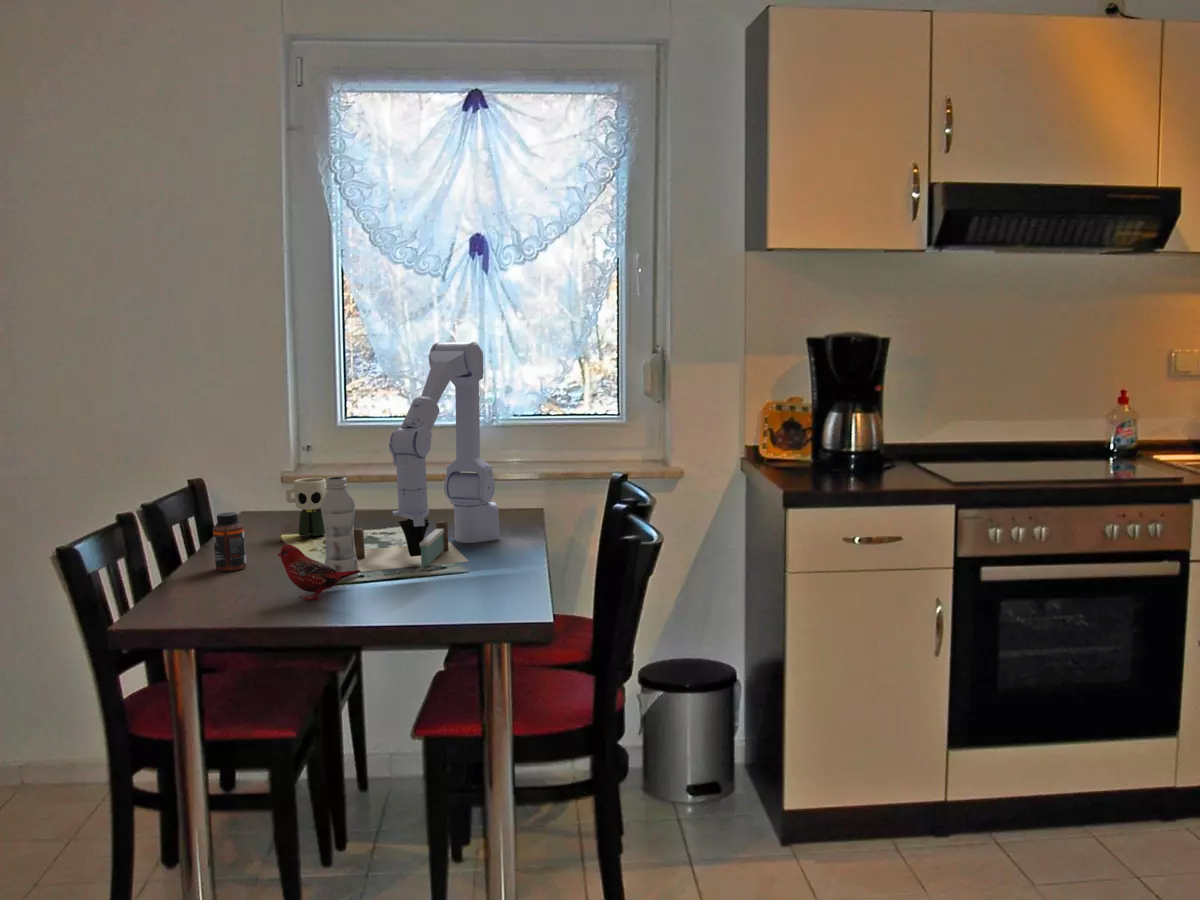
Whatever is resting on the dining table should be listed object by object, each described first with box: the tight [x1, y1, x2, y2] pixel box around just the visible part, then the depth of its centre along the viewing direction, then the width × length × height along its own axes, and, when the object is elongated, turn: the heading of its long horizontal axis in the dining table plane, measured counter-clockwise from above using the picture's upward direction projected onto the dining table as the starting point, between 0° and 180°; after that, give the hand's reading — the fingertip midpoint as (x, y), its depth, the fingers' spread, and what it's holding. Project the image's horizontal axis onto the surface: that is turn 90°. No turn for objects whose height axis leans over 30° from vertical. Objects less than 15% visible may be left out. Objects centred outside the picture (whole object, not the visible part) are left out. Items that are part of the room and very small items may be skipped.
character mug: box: [285, 477, 328, 537], centre depth 261 cm, size 11×7×13 cm, turn 97°
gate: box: [420, 528, 444, 567], centre depth 229 cm, size 14×2×4 cm, turn 175°
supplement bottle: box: [212, 511, 247, 572], centre depth 230 cm, size 6×6×11 cm
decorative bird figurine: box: [277, 543, 362, 602], centre depth 203 cm, size 3×18×10 cm, turn 67°
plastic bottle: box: [321, 476, 359, 582], centre depth 216 cm, size 6×7×20 cm
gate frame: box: [353, 520, 469, 573], centre depth 233 cm, size 22×20×7 cm
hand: (415, 555), depth 227 cm, fingers closed
